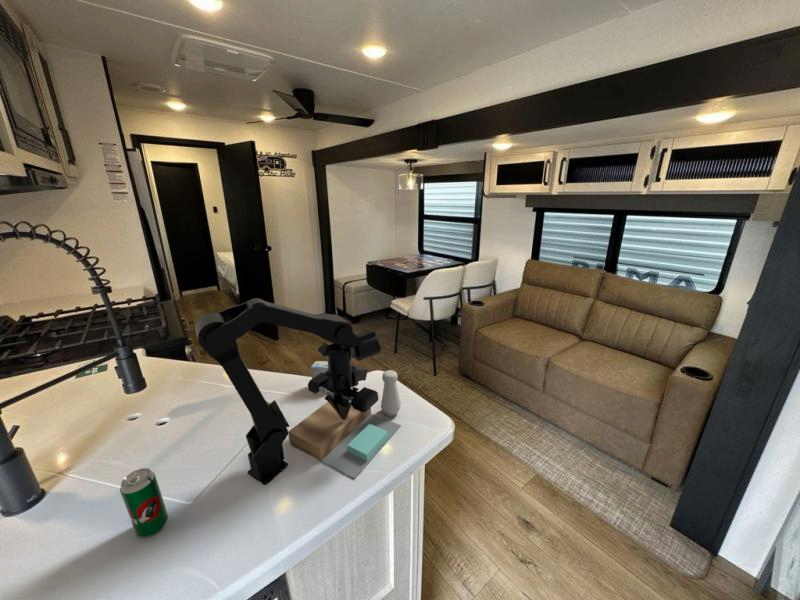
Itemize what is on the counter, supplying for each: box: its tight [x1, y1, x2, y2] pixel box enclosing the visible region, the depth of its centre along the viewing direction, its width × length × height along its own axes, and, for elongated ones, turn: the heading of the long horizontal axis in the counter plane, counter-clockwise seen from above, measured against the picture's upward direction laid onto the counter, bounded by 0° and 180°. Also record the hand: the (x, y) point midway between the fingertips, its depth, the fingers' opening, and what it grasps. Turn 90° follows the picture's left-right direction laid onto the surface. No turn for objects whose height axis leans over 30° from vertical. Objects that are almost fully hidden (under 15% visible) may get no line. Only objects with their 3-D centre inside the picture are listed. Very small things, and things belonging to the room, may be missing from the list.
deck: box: [288, 401, 372, 463], centre depth 86 cm, size 20×11×4 cm, turn 149°
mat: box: [321, 413, 402, 480], centre depth 81 cm, size 20×10×1 cm, turn 149°
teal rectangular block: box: [347, 424, 388, 461], centre depth 80 cm, size 9×6×2 cm, turn 148°
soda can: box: [119, 467, 169, 538], centre depth 59 cm, size 5×5×12 cm
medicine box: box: [310, 360, 328, 392], centre depth 104 cm, size 8×4×9 cm, turn 84°
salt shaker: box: [380, 369, 402, 418], centre depth 91 cm, size 6×6×13 cm
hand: (344, 418), depth 83 cm, fingers closed
